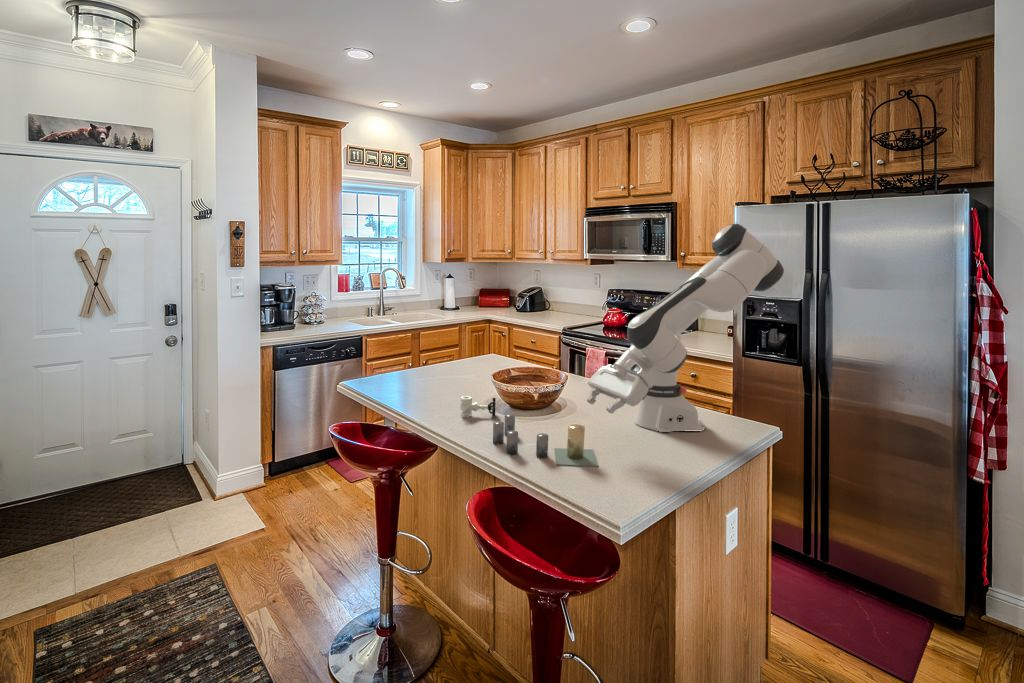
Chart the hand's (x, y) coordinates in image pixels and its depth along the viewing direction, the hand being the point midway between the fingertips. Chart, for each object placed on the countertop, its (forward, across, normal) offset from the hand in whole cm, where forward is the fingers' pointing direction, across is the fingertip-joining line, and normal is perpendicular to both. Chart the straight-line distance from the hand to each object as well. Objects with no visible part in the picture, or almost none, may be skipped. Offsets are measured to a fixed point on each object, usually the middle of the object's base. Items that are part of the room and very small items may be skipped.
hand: (598, 407), depth 150 cm
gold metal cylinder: (+15, +1, +4) cm, 15 cm away
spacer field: (+23, -14, -4) cm, 27 cm away
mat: (+15, +1, +4) cm, 15 cm away
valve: (+23, -45, -3) cm, 50 cm away
